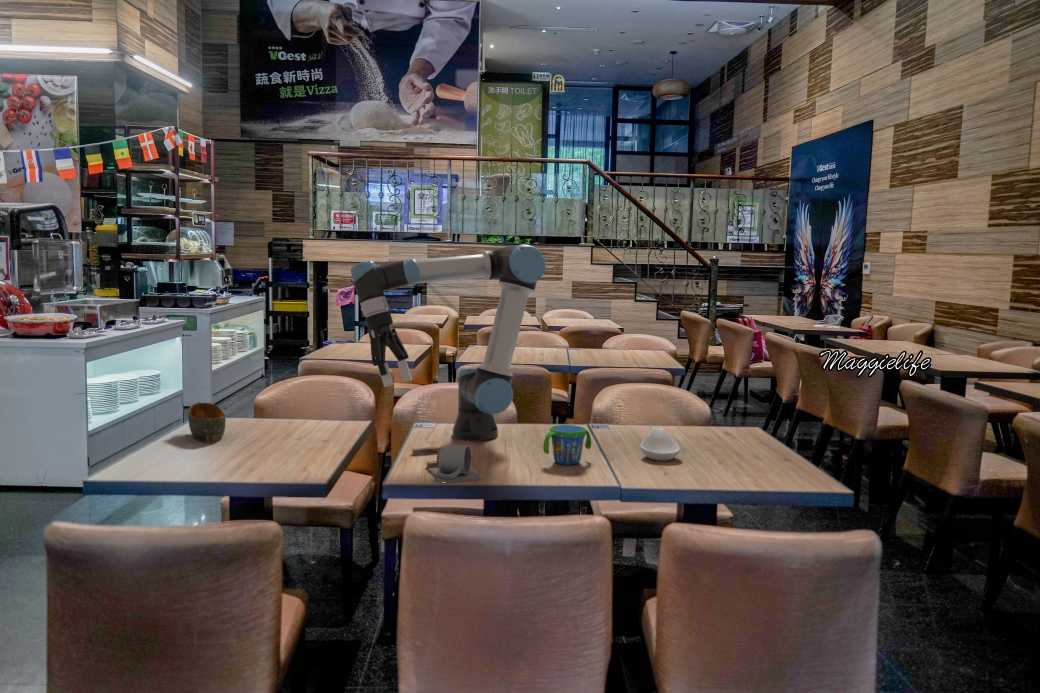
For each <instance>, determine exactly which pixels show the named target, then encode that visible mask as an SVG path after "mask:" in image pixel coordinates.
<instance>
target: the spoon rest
mask: <svg viewBox="0 0 1040 693" xmlns="http://www.w3.org/2000/svg"><path fill="white" fill-rule="evenodd" d="M639 447H640V450H641V452H642V453H643V454H644V456H646V457H647V458H648V459H650V460H653V461H658V462H659V461H660V462H665V461H666V462H667V461H670V460H672V459H675V457H677V455H678V454H680V450H681V448H680V446H679V444H678V443H677V442H676V441H675V440H674V439H673V438H672V437H671V436H670V435H669V433H668V432H667V431H666V430H665V428H663V427H661V428H657V427H652V428H651V431H650V432H649V433H648V435H646V437H645V438H644V439H643V440H642V441H641V443H640V446H639Z"/></svg>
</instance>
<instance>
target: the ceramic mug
mask: <svg viewBox="0 0 1040 693" xmlns="http://www.w3.org/2000/svg"><path fill="white" fill-rule="evenodd" d="M472 460H473V459H472V450H471V447H470V446H469V445H468V444H464V445H443V446H442V447H440V449H439V450H438V453H437V454H436V461H437V467H438V472H439V476H440V477H441V478H444V479H452V478H455V477H456V476H458V475H459V474H468V473H469V471H470V468H471V467H472ZM471 469H472V468H471ZM441 472H444V473H451V474H442V473H441Z"/></svg>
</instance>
